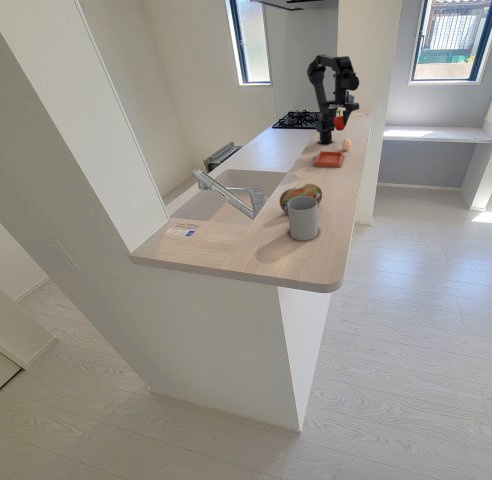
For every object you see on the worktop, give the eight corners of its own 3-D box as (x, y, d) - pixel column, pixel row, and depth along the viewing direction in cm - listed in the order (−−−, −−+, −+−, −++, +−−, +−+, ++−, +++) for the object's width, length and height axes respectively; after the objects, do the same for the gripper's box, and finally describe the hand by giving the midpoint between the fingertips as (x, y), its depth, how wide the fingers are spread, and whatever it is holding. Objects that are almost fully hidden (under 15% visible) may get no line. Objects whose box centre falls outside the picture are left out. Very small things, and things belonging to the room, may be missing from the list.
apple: (332, 128, 139) (333, 107, 133) (345, 128, 139) (346, 107, 133) (334, 132, 133) (334, 110, 127) (347, 132, 133) (348, 110, 127)
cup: (318, 225, 83) (318, 196, 78) (317, 240, 77) (316, 210, 71) (292, 224, 84) (289, 196, 78) (288, 240, 78) (285, 210, 72)
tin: (283, 217, 88) (280, 194, 83) (279, 213, 90) (277, 190, 85) (322, 205, 93) (322, 183, 88) (318, 202, 96) (317, 180, 91)
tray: (320, 155, 135) (320, 151, 134) (343, 156, 133) (343, 151, 132) (314, 166, 124) (314, 161, 122) (339, 167, 121) (339, 162, 120)
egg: (342, 148, 142) (343, 137, 139) (352, 149, 141) (352, 137, 137) (340, 151, 139) (340, 139, 135) (349, 152, 137) (350, 140, 133)
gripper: (367, 87, 124) (364, 123, 133) (337, 85, 135) (336, 118, 144) (352, 90, 118) (350, 128, 127) (321, 88, 129) (322, 122, 138)
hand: (339, 124), depth 134 cm, fingers closed on apple, 6 cm apart
